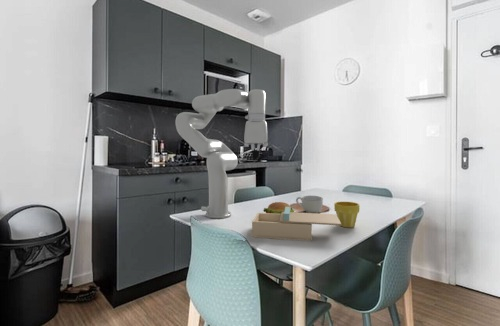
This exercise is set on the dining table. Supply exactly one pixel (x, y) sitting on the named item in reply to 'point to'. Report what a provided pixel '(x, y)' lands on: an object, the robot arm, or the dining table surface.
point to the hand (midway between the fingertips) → (255, 159)
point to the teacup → (311, 203)
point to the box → (279, 228)
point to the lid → (309, 218)
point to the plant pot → (347, 213)
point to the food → (277, 208)
